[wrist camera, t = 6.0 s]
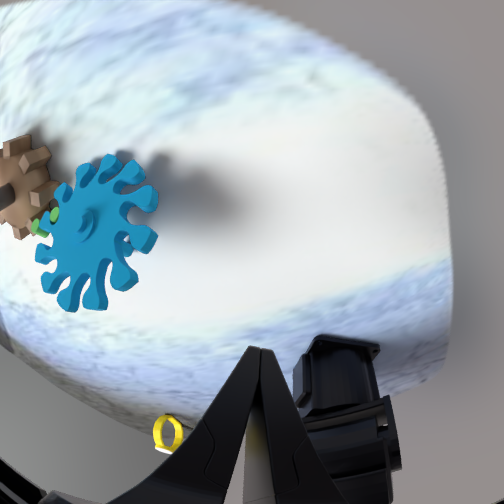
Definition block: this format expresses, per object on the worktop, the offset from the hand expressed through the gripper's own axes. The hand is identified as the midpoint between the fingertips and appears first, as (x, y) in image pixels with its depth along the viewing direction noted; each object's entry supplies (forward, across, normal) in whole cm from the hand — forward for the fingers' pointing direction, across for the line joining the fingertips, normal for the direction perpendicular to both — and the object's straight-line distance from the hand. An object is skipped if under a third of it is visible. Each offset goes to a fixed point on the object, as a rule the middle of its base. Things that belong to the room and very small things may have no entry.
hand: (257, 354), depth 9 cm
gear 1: (+10, +21, 0) cm, 23 cm away
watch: (+10, +6, +34) cm, 36 cm away
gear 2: (+10, +11, +1) cm, 15 cm away
